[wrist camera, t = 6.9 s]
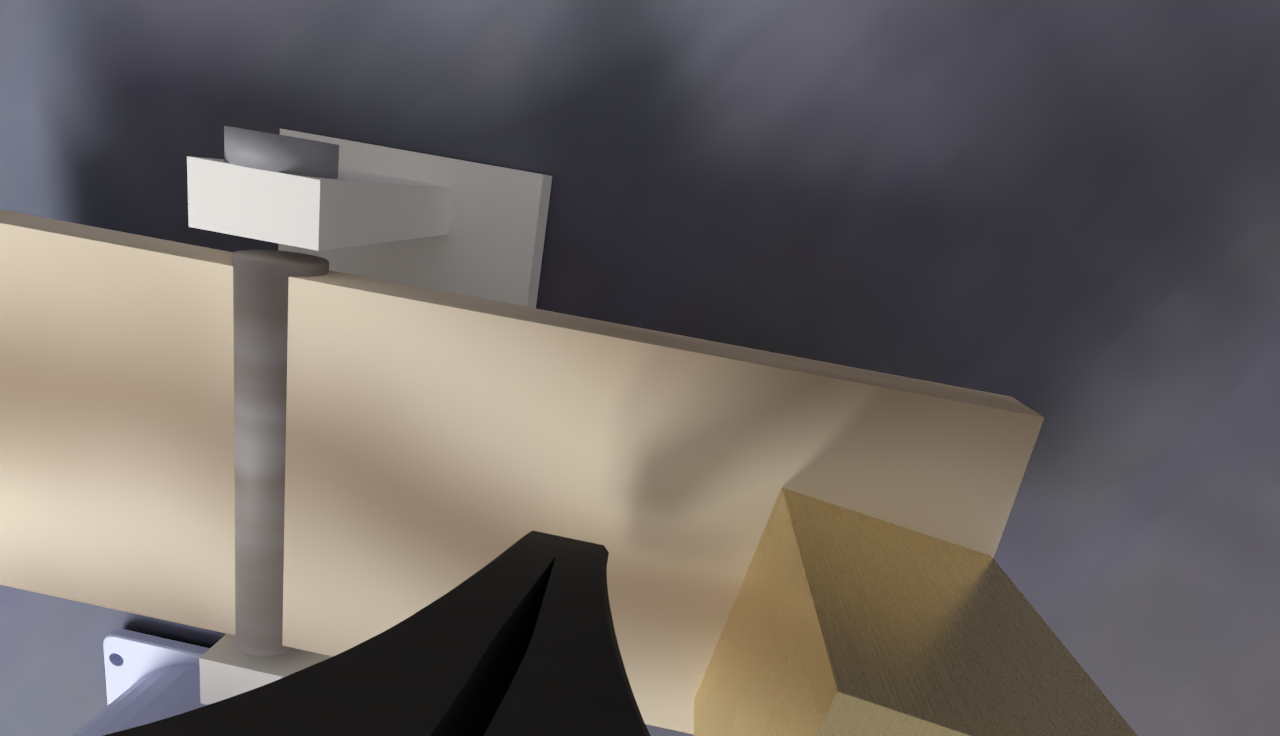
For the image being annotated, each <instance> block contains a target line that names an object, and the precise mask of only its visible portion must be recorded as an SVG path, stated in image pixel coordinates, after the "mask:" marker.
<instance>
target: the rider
mask: <svg viewBox="0 0 1280 736" xmlns="http://www.w3.org/2000/svg"><path fill="white" fill-rule="evenodd" d="M694 736H1137V735H1136V733H1135V732H1134V731H1133V730H1132V728H1131V727H1130V726H1129V725H1128V723H1127V722H1126V721H1125V720H1124V719H1123V717H1122V716H1121V715H1120V714H1119V712H1118V711H1117V710H1116V709H1115V707H1114V706H1113V705H1112V704H1111V703H1110V701H1109V700H1108V699H1107V698H1106V696H1105V695H1104V694H1103V693H1102V691H1101V690H1100V689H1099V688H1098V687H1097V685H1096V684H1095V683H1094V682H1093V680H1092V679H1091V678H1090V677H1089V675H1088V674H1087V673H1086V672H1085V671H1084V669H1083V668H1082V667H1081V666H1080V664H1079V663H1078V662H1077V661H1076V659H1075V658H1074V657H1073V656H1072V655H1071V653H1070V652H1069V651H1068V650H1067V648H1066V647H1065V646H1064V645H1063V643H1062V642H1061V641H1060V640H1059V639H1058V637H1057V636H1056V635H1055V634H1054V632H1053V631H1052V630H1051V629H1050V627H1049V626H1048V625H1047V624H1046V623H1045V621H1044V620H1043V619H1042V618H1041V616H1040V615H1039V614H1038V613H1037V611H1036V610H1035V609H1034V608H1033V607H1032V605H1031V604H1030V603H1029V602H1028V600H1027V599H1026V598H1025V597H1024V595H1023V594H1022V593H1021V592H1020V591H1019V589H1018V588H1017V587H1016V586H1015V584H1014V583H1013V582H1012V581H1011V579H1010V578H1009V577H1008V576H1007V575H1006V573H1005V572H1004V571H1003V570H1002V568H1001V567H1000V566H999V565H998V563H997V562H996V561H995V560H994V559H993V557H992V556H989V555H986V554H983V553H980V552H977V551H974V550H971V549H968V548H965V547H962V546H959V545H956V544H953V543H950V542H947V541H944V540H941V539H938V538H935V537H932V536H929V535H926V534H922V533H919V532H916V531H913V530H910V529H907V528H904V527H901V526H898V525H895V524H892V523H889V522H886V521H883V520H880V519H877V518H874V517H871V516H868V515H865V514H862V513H859V512H856V511H852V510H849V509H846V508H843V507H840V506H837V505H834V504H831V503H828V502H825V501H822V500H819V499H816V498H813V497H810V496H807V495H804V494H801V493H798V492H795V491H792V490H789V489H785V488H781V490H780V493H779V495H778V497H777V500H776V502H775V505H774V507H773V510H772V512H771V514H770V517H769V519H768V522H767V524H766V527H765V529H764V531H763V534H762V536H761V539H760V541H759V544H758V546H757V548H756V551H755V553H754V556H753V558H752V560H751V563H750V565H749V568H748V570H747V573H746V575H745V577H744V580H743V582H742V585H741V587H740V590H739V592H738V594H737V597H736V599H735V602H734V604H733V607H732V609H731V611H730V614H729V616H728V619H727V621H726V624H725V626H724V628H723V631H722V633H721V636H720V638H719V640H718V643H717V645H716V648H715V650H714V653H713V655H712V657H711V660H710V662H709V665H708V667H707V670H706V672H705V674H704V677H703V679H702V682H701V684H700V687H699V689H698V691H697V694H696V696H695V699H694Z"/></svg>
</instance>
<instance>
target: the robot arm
mask: <svg viewBox="0 0 1280 736" xmlns="http://www.w3.org/2000/svg"><path fill="white" fill-rule="evenodd" d="M608 556H609V552H608V551H607V549H606V548H605V546H604V545H600V544H596V543H591V542H586V541H581V540H576V539H571V538H567V537H562V536H557V535H552V534H547V533H542V532H537V531H533V530H532V531H531V532H529V533H528V534H526V535H525V536H523V537H522V538H521V539H519V540H518V541H517V542H516V543H514V544H513V545H512V546H510V547H509V548H508V549H507V550H505V551H504V552H503V553H502V554H500V555H499V556H498V557H496V558H495V559H494V560H492V561H491V562H490V563H488V564H487V565H486V566H485V567H483V568H482V569H480V570H479V571H478V572H476V573H475V574H473V575H472V576H471V577H469V578H468V579H466V580H465V581H464V582H462V583H461V584H459V585H458V586H457V587H455V588H454V589H452V590H451V591H449V592H448V593H446V594H445V595H443V596H442V597H440V598H439V599H437V600H435V601H434V602H432V603H431V604H429V605H428V606H426V607H424V608H423V609H421V610H420V611H418V612H416V613H415V614H413V615H412V616H410V617H408V618H407V619H405V620H403V621H402V622H400V623H398V624H397V625H395V626H393V627H391V628H390V629H388V630H386V631H384V632H382V633H380V634H378V635H376V636H374V637H372V638H370V639H368V640H366V641H364V642H362V643H360V644H358V645H356V646H354V647H353V648H351V649H348V650H346V651H344V652H342V653H340V654H338V655H335V656H333V657H331V658H328V659H326V660H324V661H321V662H319V663H317V664H314V665H312V666H309V667H307V668H305V669H302V670H300V671H298V672H295V673H293V674H290V675H288V676H286V677H283V678H281V679H279V680H276V681H274V682H271V683H269V684H266V685H264V686H261V687H258V688H255V689H253V690H250V691H247V692H244V693H241V694H239V695H236V696H233V697H230V698H227V699H225V700H222V701H219V702H216V703H213V704H209V705H206V704H202V703H200V665H199V658H200V657H201V656H202V655H203V654H204V653H206V652H207V651H208V650H209V649H210V648H206V647H202V646H197V645H193V644H188V643H184V642H179V641H175V640H170V639H166V638H161V637H157V636H152V635H148V634H143V633H139V632H134V631H130V630H125V629H117V630H115V631H113V632H112V633H110V634H109V635H108V636H106V638H105V639H104V643H103V647H104V661H105V674H106V688H107V701H108V706H107V707H106V708H105V709H103V710H102V711H101V712H100V713H99V714H97V715H96V716H95V717H94V718H93V719H92V720H90V721H89V722H88V723H87V724H86V725H84V726H83V727H82V728H81V729H80V730H78V731H77V732H76V733H75V734H74V735H73V736H650V734H649V732H648V730H647V727H646V725H645V723H644V720H643V718H642V715H641V713H640V710H639V708H638V705H637V703H636V700H635V697H634V695H633V692H632V689H631V686H630V683H629V680H628V677H627V674H626V671H625V667H624V664H623V660H622V657H621V653H620V650H619V646H618V642H617V638H616V634H615V629H614V624H613V619H612V614H611V609H610V603H609V596H608V587H607V561H608Z"/></svg>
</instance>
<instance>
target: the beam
mask: <svg viewBox="0 0 1280 736" xmlns="http://www.w3.org/2000/svg"><path fill="white" fill-rule="evenodd" d="M1044 418H1045V417H1043V416H1041V415H1040V414H1038V413H1037V412H1035V411H1034V410H1032V409H1030V408H1029V407H1027V406H1026V405H1024V404H1023V403H1021V402H1019V401H1018V400H1016V399H1015V398H1013V397H1011V396H1006V395H1001V394H995V393H990V392H984V391H979V390H974V389H968V388H963V387H957V386H952V385H947V384H941V383H936V382H930V381H925V380H920V379H914V378H909V377H903V376H898V375H893V374H887V373H882V372H876V371H871V370H866V369H860V368H855V367H849V366H844V365H839V364H833V363H828V362H822V361H817V360H812V359H806V358H801V357H795V356H790V355H785V354H779V353H774V352H768V351H763V350H758V349H752V348H747V347H741V346H736V345H731V344H725V343H720V342H714V341H709V340H704V339H698V338H693V337H687V336H682V335H677V334H671V333H666V332H660V331H655V330H650V329H644V328H639V327H633V326H628V325H623V324H617V323H612V322H606V321H601V320H596V319H590V318H585V317H579V316H574V315H569V314H563V313H558V312H552V311H547V310H542V309H536V308H531V307H525V306H520V305H515V304H509V303H504V302H498V301H493V300H488V299H482V298H477V297H471V296H466V295H461V294H455V293H450V292H444V291H439V290H434V289H428V288H423V287H417V286H412V285H407V284H401V283H396V282H390V281H385V280H380V279H374V278H369V277H363V276H358V275H353V274H347V273H342V272H336V271H331V270H329V261H328V260H327V259H324V258H322V257H318V256H314V255H309V254H304V253H297V252H289V251H279V250H240V251H235V252H228V251H223V250H218V249H212V248H207V247H201V246H196V245H191V244H185V243H180V242H174V241H169V240H164V239H158V238H153V237H147V236H142V235H137V234H131V233H126V232H120V231H115V230H110V229H104V228H99V227H93V226H88V225H83V224H77V223H72V222H66V221H61V220H56V219H50V218H45V217H39V216H34V215H29V214H23V213H18V212H12V211H7V210H2V209H0V585H5V586H9V587H14V588H19V589H23V590H28V591H32V592H37V593H42V594H46V595H51V596H56V597H60V598H65V599H69V600H74V601H79V602H83V603H88V604H93V605H97V606H102V607H106V608H111V609H116V610H120V611H125V612H130V613H134V614H139V615H143V616H148V617H153V618H157V619H162V620H167V621H171V622H176V623H180V624H185V625H190V626H194V627H199V628H204V629H208V630H213V631H217V632H222V633H227V634H231V635H234V638H235V643H236V645H237V646H238V648H239V649H241V650H242V651H244V652H246V653H249V654H252V655H259V656H269V655H276V654H281V653H285V652H288V651H291V650H293V649H295V648H296V649H301V650H305V651H310V652H315V653H319V654H324V655H329V656H335V655H338V654H340V653H342V652H344V651H346V650H348V649H351V648H353V647H354V646H356V645H358V644H360V643H362V642H364V641H366V640H368V639H370V638H372V637H374V636H376V635H378V634H380V633H382V632H384V631H386V630H388V629H390V628H391V627H393V626H395V625H397V624H398V623H400V622H402V621H403V620H405V619H407V618H408V617H410V616H412V615H413V614H415V613H416V612H418V611H420V610H421V609H423V608H424V607H426V606H428V605H429V604H431V603H432V602H434V601H435V600H437V599H439V598H440V597H442V596H443V595H445V594H446V593H448V592H449V591H451V590H452V589H454V588H455V587H457V586H458V585H459V584H461V583H462V582H464V581H465V580H466V579H468V578H469V577H471V576H472V575H473V574H475V573H476V572H478V571H479V570H480V569H482V568H483V567H485V566H486V565H487V564H488V563H490V562H491V561H492V560H494V559H495V558H496V557H498V556H499V555H500V554H502V553H503V552H504V551H505V550H507V549H508V548H509V547H510V546H512V545H513V544H514V543H516V542H517V541H518V540H519V539H521V538H522V537H523V536H525V535H526V534H528V533H529V532H531V531H532V530H533V531H537V532H542V533H547V534H552V535H557V536H562V537H567V538H571V539H576V540H581V541H586V542H591V543H596V544H600V545H604V546H605V548H606V549H607V551H608V552H609V556H608V561H607V587H608V596H609V603H610V609H611V614H612V619H613V624H614V629H615V634H616V638H617V642H618V646H619V650H620V653H621V657H622V660H623V664H624V667H625V671H626V674H627V677H628V680H629V683H630V686H631V689H632V692H633V695H634V697H635V700H636V703H637V705H638V708H639V710H640V713H641V715H642V718H643V720H644V723H645V724H648V725H652V726H657V727H662V728H666V729H671V730H675V731H680V732H685V733H689V734H694V699H695V696H696V694H697V691H698V689H699V687H700V684H701V682H702V679H703V677H704V674H705V672H706V670H707V667H708V665H709V662H710V660H711V657H712V655H713V653H714V650H715V648H716V645H717V643H718V640H719V638H720V636H721V633H722V631H723V628H724V626H725V624H726V621H727V619H728V616H729V614H730V611H731V609H732V607H733V604H734V602H735V599H736V597H737V594H738V592H739V590H740V587H741V585H742V582H743V580H744V577H745V575H746V573H747V570H748V568H749V565H750V563H751V560H752V558H753V556H754V553H755V551H756V548H757V546H758V544H759V541H760V539H761V536H762V534H763V531H764V529H765V527H766V524H767V522H768V519H769V517H770V514H771V512H772V510H773V507H774V505H775V502H776V500H777V497H778V495H779V493H780V490H781V488H785V489H789V490H792V491H795V492H798V493H801V494H804V495H807V496H810V497H813V498H816V499H819V500H822V501H825V502H828V503H831V504H834V505H837V506H840V507H843V508H846V509H849V510H852V511H856V512H859V513H862V514H865V515H868V516H871V517H874V518H877V519H880V520H883V521H886V522H889V523H892V524H895V525H898V526H901V527H904V528H907V529H910V530H913V531H916V532H919V533H922V534H926V535H929V536H932V537H935V538H938V539H941V540H944V541H947V542H950V543H953V544H956V545H959V546H962V547H965V548H968V549H971V550H974V551H977V552H980V553H983V554H986V555H989V556H992V557H993V559H994V556H995V553H996V550H997V548H998V545H999V542H1000V539H1001V536H1002V534H1003V531H1004V528H1005V525H1006V523H1007V520H1008V517H1009V514H1010V512H1011V509H1012V506H1013V503H1014V501H1015V498H1016V495H1017V492H1018V490H1019V487H1020V484H1021V481H1022V479H1023V476H1024V473H1025V470H1026V467H1027V465H1028V462H1029V459H1030V456H1031V454H1032V451H1033V448H1034V445H1035V443H1036V440H1037V437H1038V434H1039V432H1040V429H1041V426H1042V423H1043V421H1044Z"/></svg>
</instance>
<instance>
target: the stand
mask: <svg viewBox="0 0 1280 736" xmlns="http://www.w3.org/2000/svg"><path fill="white" fill-rule="evenodd" d="M187 183H188V223H189V227H192V228H197V229H203V230H208V231H214V232H219V233H224V234H230V235H235V236H241V237H246V238H251V239H257V240H262V241H268V242H273V243H278V250H279V251H289V252H297V253H304V254H309V255H314V256H318V257H322V258H324V259H327V260H328V261H329V270H331V271H336V272H342V273H347V274H353V275H358V276H363V277H369V278H374V279H380V280H385V281H390V282H396V283H401V284H407V285H412V286H417V287H423V288H428V289H434V290H439V291H444V292H450V293H455V294H461V295H466V296H471V297H477V298H482V299H488V300H493V301H498V302H504V303H509V304H515V305H520V306H525V307H531V308H536V304H537V296H538V288H539V280H540V272H541V264H542V256H543V248H544V240H545V232H546V224H547V216H548V208H549V200H550V192H551V184H552V176H550V175H544V174H538V173H533V172H527V171H521V170H515V169H510V168H504V167H498V166H493V165H487V164H481V163H475V162H470V161H464V160H458V159H452V158H447V157H441V156H435V155H429V154H424V153H418V152H412V151H407V150H401V149H395V148H389V147H384V146H378V145H372V144H366V143H361V142H355V141H349V140H344V139H338V138H332V137H326V136H321V135H315V134H309V133H303V132H298V131H292V130H286V129H280V135H279V134H273V133H267V132H261V131H255V130H249V129H243V128H237V127H230V126H224V159H213V158H202V157H190V156H187ZM331 657H333V656H329V655H324V654H319V653H315V652H310V651H305V650H301V649H296V648H295V649H293V650H291V651H288V652H285V653H281V654H276V655H269V656H259V655H252V654H249V653H246V652H244V651H242V650H241V649H239V648H238V646H237V645H236V643H235V638H234V635H231V634H226V635H224V636H223V637H222V638H221V639H220V640H219V641H218V642H217V643H216V644H214V645H213V646H212V647H211V648H210V649H209V650H208V651H207V652H206V653H204V654H203V655H202V656H201V657H200V658H199V665H200V703H202V704H206V705H209V704H213V703H216V702H219V701H222V700H225V699H227V698H230V697H233V696H236V695H239V694H241V693H244V692H247V691H250V690H253V689H255V688H258V687H261V686H264V685H266V684H269V683H271V682H274V681H276V680H279V679H281V678H283V677H286V676H288V675H290V674H293V673H295V672H298V671H300V670H302V669H305V668H307V667H309V666H312V665H314V664H317V663H319V662H321V661H324V660H326V659H328V658H331Z"/></svg>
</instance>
